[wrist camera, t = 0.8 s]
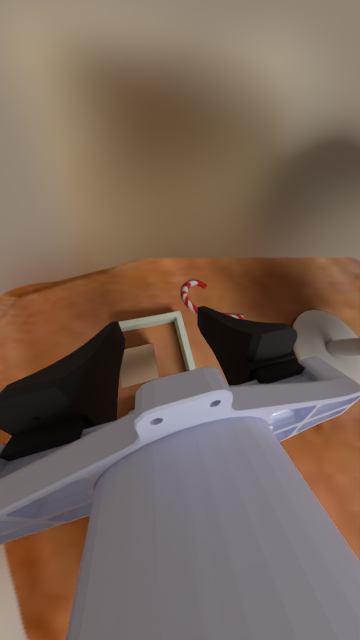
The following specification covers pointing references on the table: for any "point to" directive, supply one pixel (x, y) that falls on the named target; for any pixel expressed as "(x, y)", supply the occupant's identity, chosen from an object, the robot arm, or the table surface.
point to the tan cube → (138, 365)
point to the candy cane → (189, 304)
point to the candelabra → (328, 342)
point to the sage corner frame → (164, 319)
